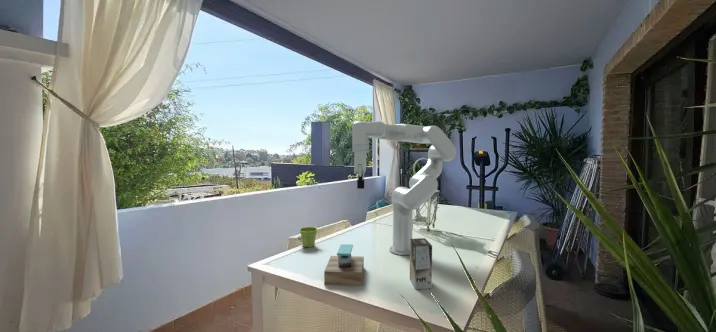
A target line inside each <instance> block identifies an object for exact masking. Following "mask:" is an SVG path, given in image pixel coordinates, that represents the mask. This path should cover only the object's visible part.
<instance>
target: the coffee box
mask: <svg viewBox="0 0 716 332" xmlns="http://www.w3.org/2000/svg"><path fill="white" fill-rule="evenodd" d="M432 272H433V245H432V244H431V242H429V241H428V240H427V238H425V237H424V238H423V237H422V238H421V237H419V238H416V237H415V238H412V239H410V255H409V280H410V283H412V286H413V288H414V289H415V290H424V289H425V290H427V289H429V288H430V289H432V287H433V286H432V285H433V284H432V282H433V281H432V277H433V276H432V274H433V273H432ZM430 289H429V290H430Z"/></svg>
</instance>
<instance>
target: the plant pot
mask: <svg viewBox="0 0 716 332" xmlns="http://www.w3.org/2000/svg"><path fill="white" fill-rule="evenodd" d="M318 230H319V229H318V228H317V227H313V226H303V227H301V228H299V230H298V231H299V232H300V237H301V243H302V244H301V245H302V247H303V246H304V247H303V248H313V247H314V246H315V243H316V237H317V236H316V235H317V232H318Z"/></svg>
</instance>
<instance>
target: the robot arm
mask: <svg viewBox="0 0 716 332" xmlns="http://www.w3.org/2000/svg"><path fill="white" fill-rule="evenodd" d="M351 129H352V130H351V131H352V133H351V134H352V136H351V137H352V141H351V142H352V146H351V147H352V153H354V157H353V159H354V160H353V161H354V164H353V168H354V169H353V173H354V174H355V175H356V174H357V180H356V186H357V187H356V189H359V190H363V189H365V173H366V171H367V170H366V169H367V153H369V152H370V139H375V140H377V139H378V140H387V141H395V142H402V143H403V142H404V143H405V142H406V143H415V144H425V145H426V144H429V145H430V147H429V148H428V150H427V162H426V164H425V165H424V166H423V167H422V168H420V170H419V171H417V172H416V173H415V174H414V175H412V177H410V178H409V181H408V185H409V187H407V186H406V187H405V186H398V187H396V188H395V189H394V190H393V191H392V193H391V206H392V245H391V246H390V247H389V252H391V253H392V254H394V255H398V256H399V255H400V256H410V239H413V220H414V219H413V211H416V210H417V209H418V208H420V207H421V206H422V205H423V204H425V203H426V202H427V201H428V200H429V199H430V198H431V197H432V196H434V194H435V193H436V191H437V190H438V187H439V183H438V180H437V178H438V177H440V175H441V173H442V171H443V164H444V163H443V162H451V161H453V160H454V159H455V157H456V156H457V149H456V148H455V145H454V144H453V143H452V140H450V139H449V138H448V136H447V134H446V133H445V132H444V131H443V129H441V128H440V127H439V126H437V125H427V126H425V125H415V124H410V123H395V124H387V123H385V122H383V121H381V120H378V121H377V120H376V121H354V122H353V123H352V128H351Z"/></svg>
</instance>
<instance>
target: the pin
mask: <svg viewBox="0 0 716 332" xmlns="http://www.w3.org/2000/svg"><path fill="white" fill-rule="evenodd" d="M337 256H338V255H337ZM351 256H352V253H351V254H350V256H338V266H339V267H340V268H349V267H351Z"/></svg>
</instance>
